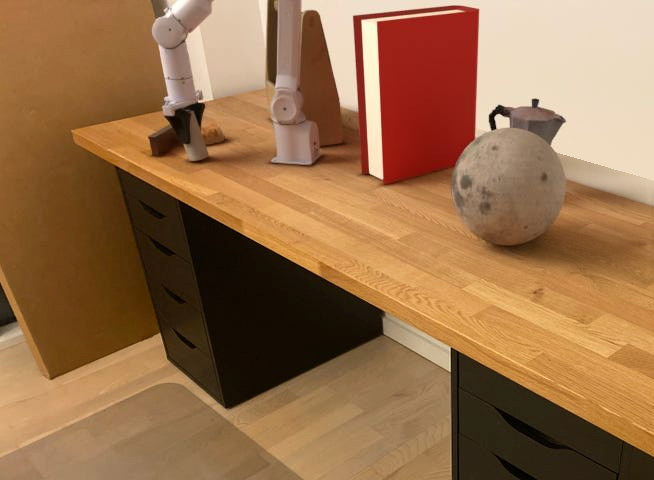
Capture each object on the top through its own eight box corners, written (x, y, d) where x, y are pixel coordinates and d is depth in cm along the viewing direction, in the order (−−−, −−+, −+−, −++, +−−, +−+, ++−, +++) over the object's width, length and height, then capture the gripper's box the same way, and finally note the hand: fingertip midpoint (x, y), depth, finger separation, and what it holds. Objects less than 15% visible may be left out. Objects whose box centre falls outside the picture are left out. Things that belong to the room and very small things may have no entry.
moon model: (572, 229, 136) (584, 122, 125) (541, 273, 121) (552, 155, 110) (474, 212, 142) (477, 108, 131) (432, 252, 127) (432, 138, 116)
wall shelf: (195, 133, 181) (192, 115, 178) (159, 156, 166) (155, 137, 163) (188, 133, 181) (185, 115, 179) (152, 156, 166) (147, 136, 164)
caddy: (268, 118, 194) (252, -6, 177) (307, 114, 198) (295, -8, 181) (302, 149, 172) (287, 11, 156) (344, 143, 177) (334, 9, 160)
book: (383, 184, 154) (376, 21, 136) (361, 174, 159) (352, 15, 141) (477, 159, 169) (483, 9, 151) (455, 151, 174) (458, 4, 156)
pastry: (193, 149, 170) (190, 133, 168) (178, 143, 174) (174, 127, 172) (227, 141, 176) (224, 125, 174) (211, 135, 180) (209, 120, 178)
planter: (188, 158, 165) (172, 113, 160) (208, 153, 167) (192, 108, 161) (189, 162, 162) (172, 115, 157) (209, 157, 163) (193, 110, 158)
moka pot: (556, 209, 144) (566, 107, 133) (480, 202, 147) (484, 101, 136) (560, 192, 152) (570, 94, 141) (488, 186, 155) (492, 89, 143)
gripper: (177, 68, 161) (188, 129, 169) (143, 83, 149) (157, 148, 157) (207, 70, 160) (217, 131, 168) (175, 85, 148) (188, 150, 156)
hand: (190, 140), depth 162 cm, fingers closed on planter, 4 cm apart
